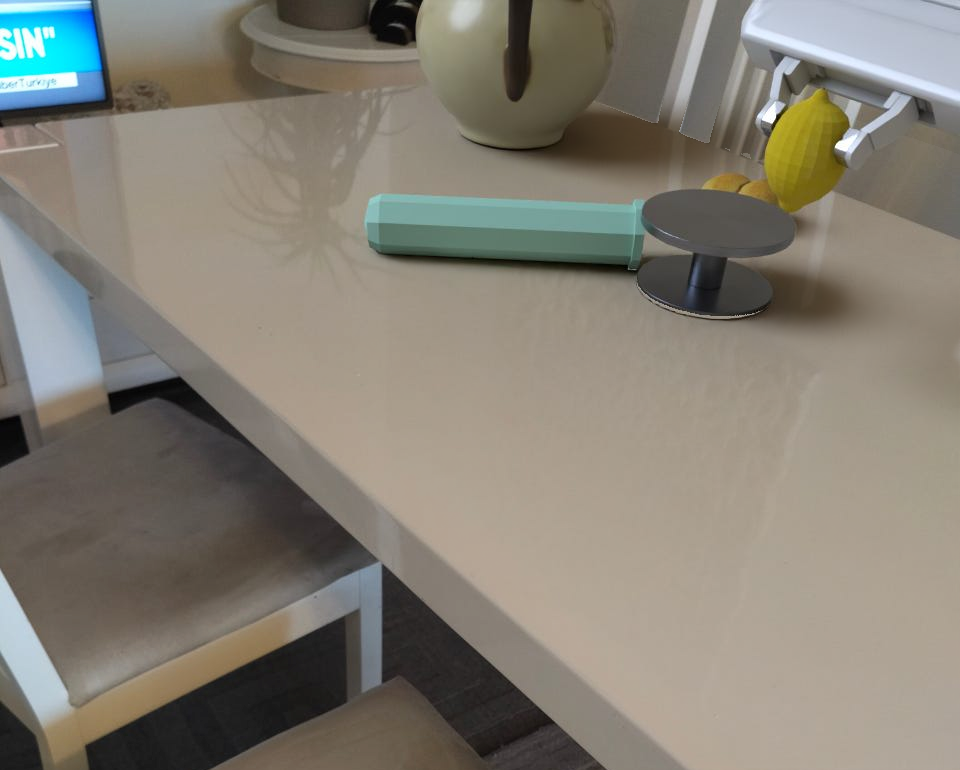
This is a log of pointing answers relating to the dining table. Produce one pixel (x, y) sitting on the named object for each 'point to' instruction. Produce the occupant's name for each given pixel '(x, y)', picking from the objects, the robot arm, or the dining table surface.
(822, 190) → the fruit
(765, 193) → the bread roll
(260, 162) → the dining table surface
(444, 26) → the pitcher
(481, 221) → the container
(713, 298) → the stand
